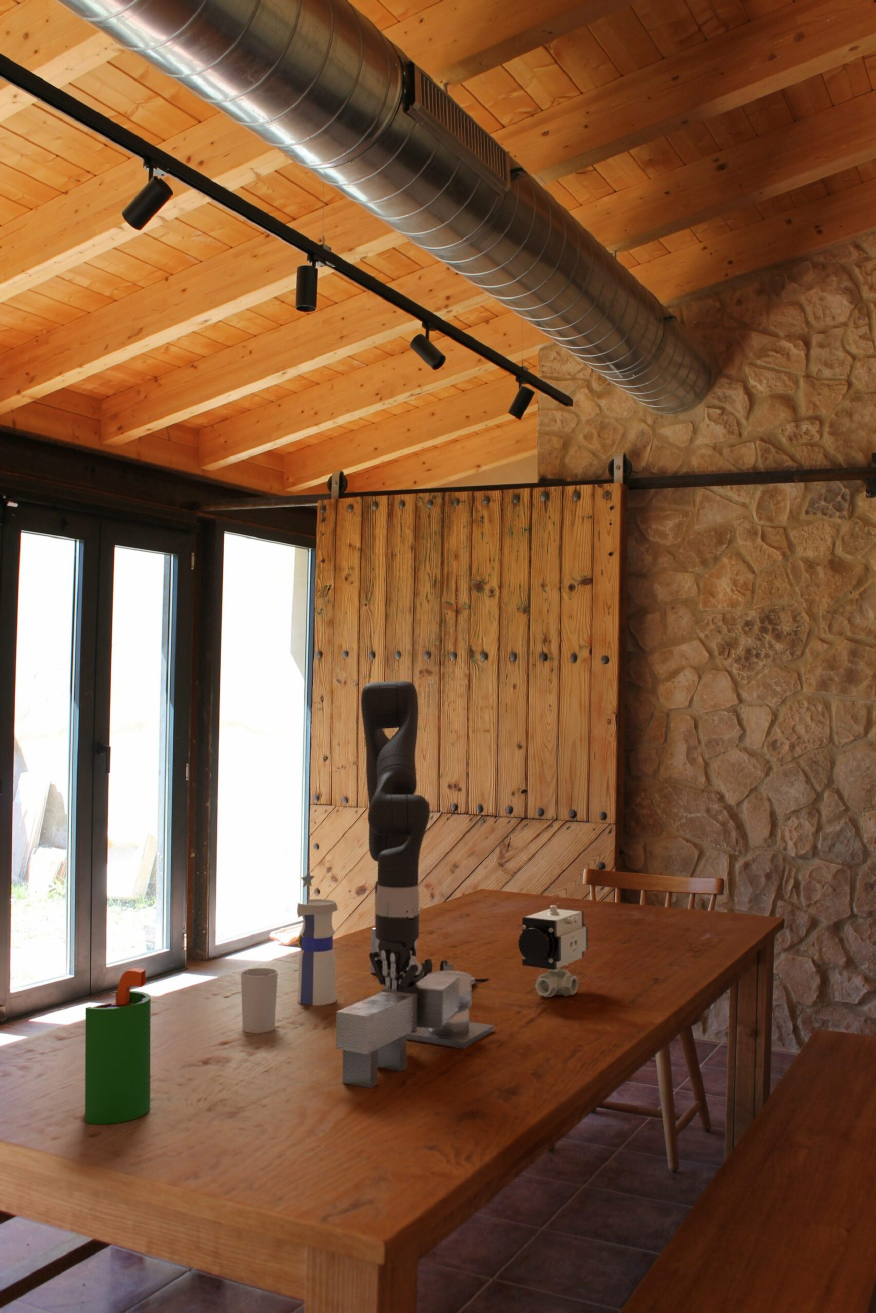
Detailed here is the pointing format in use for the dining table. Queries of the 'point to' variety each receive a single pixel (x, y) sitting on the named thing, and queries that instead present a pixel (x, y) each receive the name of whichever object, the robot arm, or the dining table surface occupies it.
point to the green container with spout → (118, 1054)
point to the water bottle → (316, 951)
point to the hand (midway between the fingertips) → (395, 1012)
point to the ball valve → (554, 947)
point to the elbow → (441, 997)
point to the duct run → (375, 1035)
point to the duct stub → (453, 1031)
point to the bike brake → (444, 968)
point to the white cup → (258, 999)
